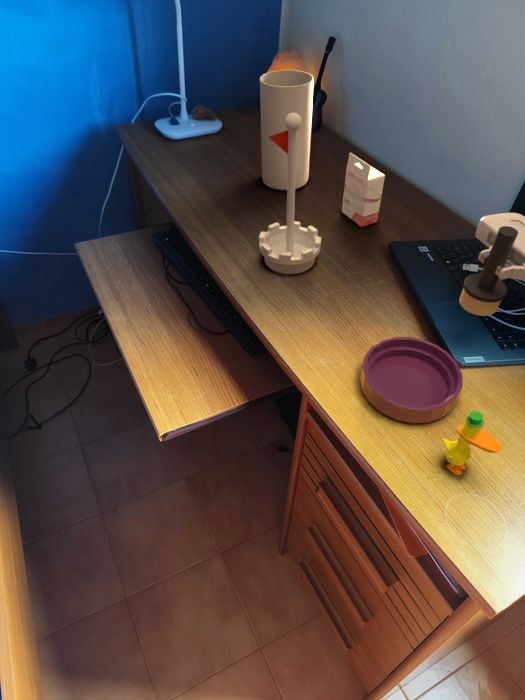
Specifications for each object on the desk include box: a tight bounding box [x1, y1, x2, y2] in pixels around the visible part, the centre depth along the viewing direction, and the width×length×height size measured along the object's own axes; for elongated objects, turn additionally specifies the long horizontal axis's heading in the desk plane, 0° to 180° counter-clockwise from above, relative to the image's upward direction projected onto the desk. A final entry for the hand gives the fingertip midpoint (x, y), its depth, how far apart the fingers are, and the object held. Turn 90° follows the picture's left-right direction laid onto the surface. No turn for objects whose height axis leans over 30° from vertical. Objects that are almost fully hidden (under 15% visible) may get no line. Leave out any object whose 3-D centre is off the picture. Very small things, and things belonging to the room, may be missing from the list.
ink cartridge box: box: [341, 152, 386, 228], centre depth 107 cm, size 9×5×15 cm, turn 27°
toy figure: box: [441, 410, 503, 476], centre depth 61 cm, size 7×4×12 cm, turn 48°
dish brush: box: [458, 226, 518, 317], centre depth 72 cm, size 6×6×14 cm
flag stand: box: [258, 113, 322, 275], centre depth 90 cm, size 13×13×30 cm
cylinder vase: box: [259, 69, 315, 191], centre depth 117 cm, size 12×12×25 cm
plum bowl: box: [359, 336, 464, 424], centre depth 75 cm, size 15×15×4 cm
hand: (490, 265), depth 71 cm, fingers closed on dish brush, 2 cm apart
